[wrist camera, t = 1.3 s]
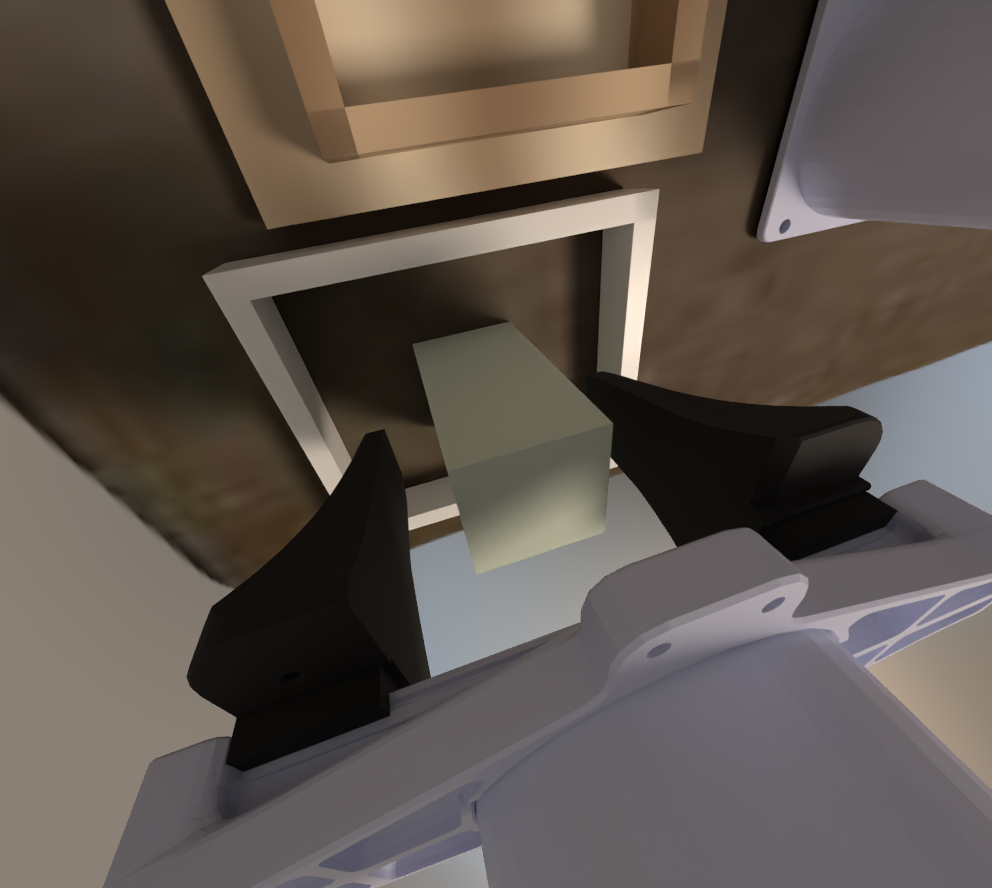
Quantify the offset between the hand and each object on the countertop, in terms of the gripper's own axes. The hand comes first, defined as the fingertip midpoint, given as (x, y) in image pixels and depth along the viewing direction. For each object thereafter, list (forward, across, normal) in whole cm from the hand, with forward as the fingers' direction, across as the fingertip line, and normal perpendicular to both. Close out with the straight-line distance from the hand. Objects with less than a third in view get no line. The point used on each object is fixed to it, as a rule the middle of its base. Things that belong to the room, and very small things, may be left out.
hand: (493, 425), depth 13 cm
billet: (+4, 0, 0) cm, 4 cm away
